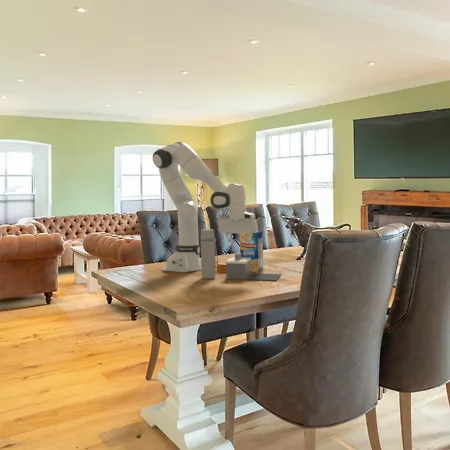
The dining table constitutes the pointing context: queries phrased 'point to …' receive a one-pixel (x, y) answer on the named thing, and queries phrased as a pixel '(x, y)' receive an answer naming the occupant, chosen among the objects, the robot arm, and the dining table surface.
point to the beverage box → (253, 249)
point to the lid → (238, 259)
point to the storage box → (238, 271)
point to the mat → (264, 277)
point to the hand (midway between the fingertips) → (238, 241)
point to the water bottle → (208, 253)
